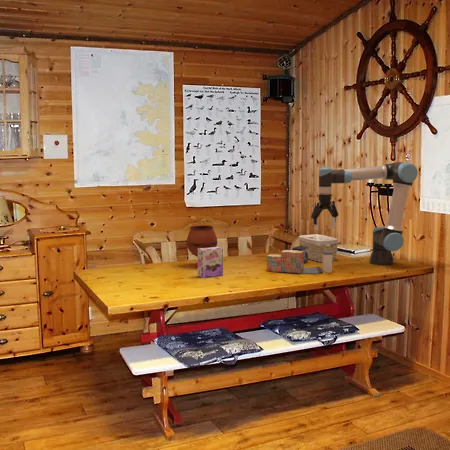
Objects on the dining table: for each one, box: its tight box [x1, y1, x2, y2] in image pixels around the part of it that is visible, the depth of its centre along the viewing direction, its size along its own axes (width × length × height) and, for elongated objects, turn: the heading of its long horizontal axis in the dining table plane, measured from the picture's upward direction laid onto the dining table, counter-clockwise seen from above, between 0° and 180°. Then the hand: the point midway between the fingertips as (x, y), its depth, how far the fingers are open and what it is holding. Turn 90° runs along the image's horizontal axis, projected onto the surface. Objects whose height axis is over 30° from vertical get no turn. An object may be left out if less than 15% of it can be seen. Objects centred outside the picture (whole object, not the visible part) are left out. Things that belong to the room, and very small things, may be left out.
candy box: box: [197, 246, 224, 279], centre depth 333 cm, size 14×6×16 cm, turn 117°
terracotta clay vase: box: [186, 224, 218, 268], centre depth 360 cm, size 19×19×25 cm
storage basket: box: [298, 233, 339, 263], centre depth 382 cm, size 24×16×15 cm
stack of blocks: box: [266, 249, 305, 274], centre depth 343 cm, size 21×6×12 cm, turn 66°
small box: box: [291, 245, 309, 264], centre depth 368 cm, size 11×6×10 cm, turn 143°
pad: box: [299, 266, 324, 275], centre depth 345 cm, size 14×16×1 cm
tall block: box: [321, 251, 333, 273], centre depth 344 cm, size 5×6×12 cm
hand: (324, 228), depth 348 cm, fingers open, 13 cm apart
